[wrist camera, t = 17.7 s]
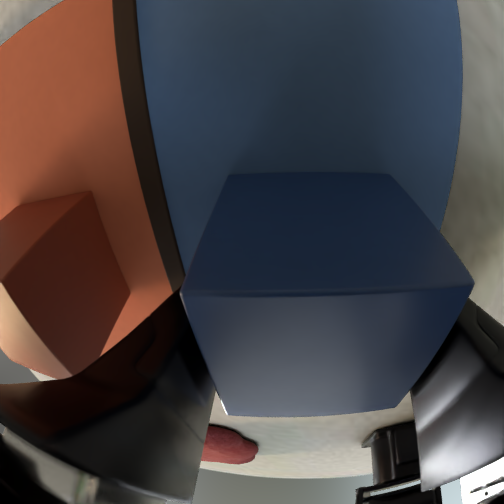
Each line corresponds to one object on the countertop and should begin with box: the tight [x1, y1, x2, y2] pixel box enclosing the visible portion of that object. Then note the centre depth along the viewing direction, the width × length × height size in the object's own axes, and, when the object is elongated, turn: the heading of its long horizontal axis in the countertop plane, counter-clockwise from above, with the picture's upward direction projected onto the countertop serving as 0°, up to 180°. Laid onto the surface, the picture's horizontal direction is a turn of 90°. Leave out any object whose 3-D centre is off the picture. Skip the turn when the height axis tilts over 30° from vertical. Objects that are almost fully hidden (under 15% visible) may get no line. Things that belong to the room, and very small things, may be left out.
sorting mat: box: [0, 0, 463, 356], centre depth 10 cm, size 20×20×1 cm
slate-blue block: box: [180, 172, 475, 417], centre depth 7 cm, size 5×5×5 cm
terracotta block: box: [0, 191, 131, 379], centre depth 8 cm, size 5×5×5 cm
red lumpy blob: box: [201, 426, 258, 464], centre depth 27 cm, size 18×14×2 cm
